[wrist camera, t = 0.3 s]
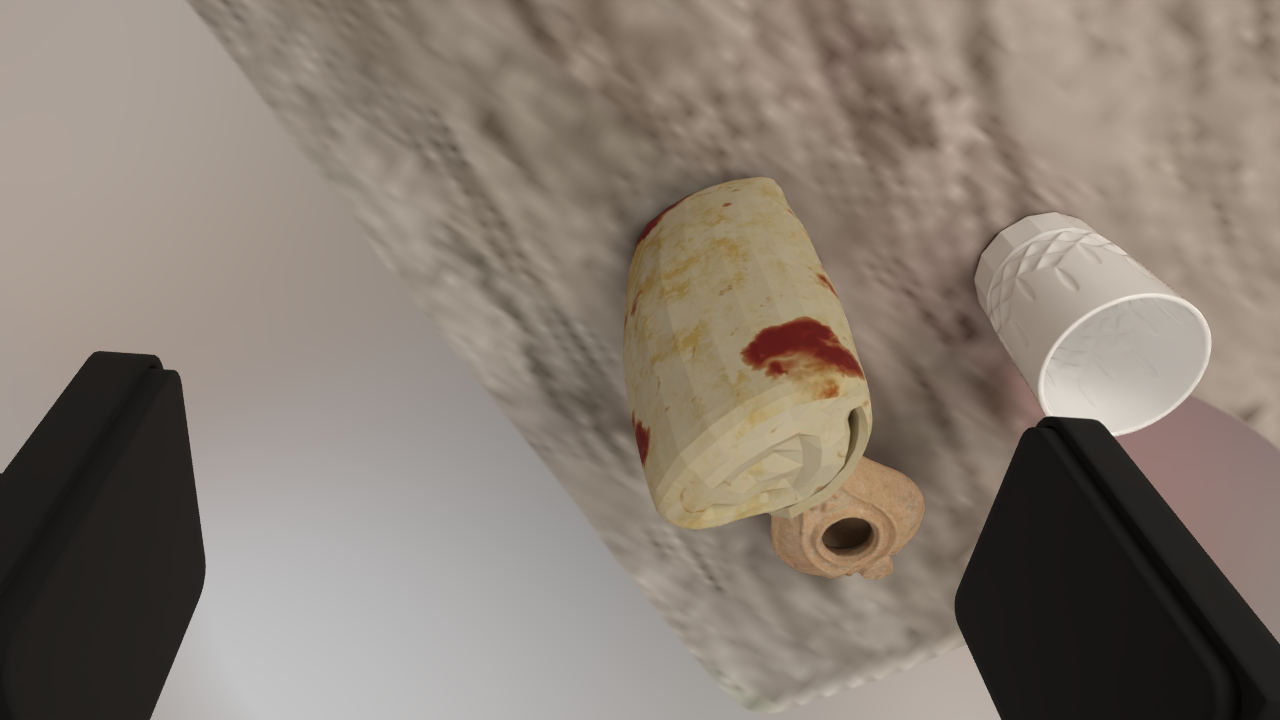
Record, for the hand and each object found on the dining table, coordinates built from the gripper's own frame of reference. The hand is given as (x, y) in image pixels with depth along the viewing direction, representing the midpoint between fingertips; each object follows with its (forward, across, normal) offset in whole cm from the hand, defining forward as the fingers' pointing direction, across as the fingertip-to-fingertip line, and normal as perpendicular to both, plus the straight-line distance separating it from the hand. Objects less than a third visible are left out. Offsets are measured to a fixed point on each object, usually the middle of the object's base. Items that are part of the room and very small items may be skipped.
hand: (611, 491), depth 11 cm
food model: (+38, -8, +13) cm, 41 cm away
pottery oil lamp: (+38, -18, +28) cm, 50 cm away
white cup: (+38, -27, +14) cm, 48 cm away
